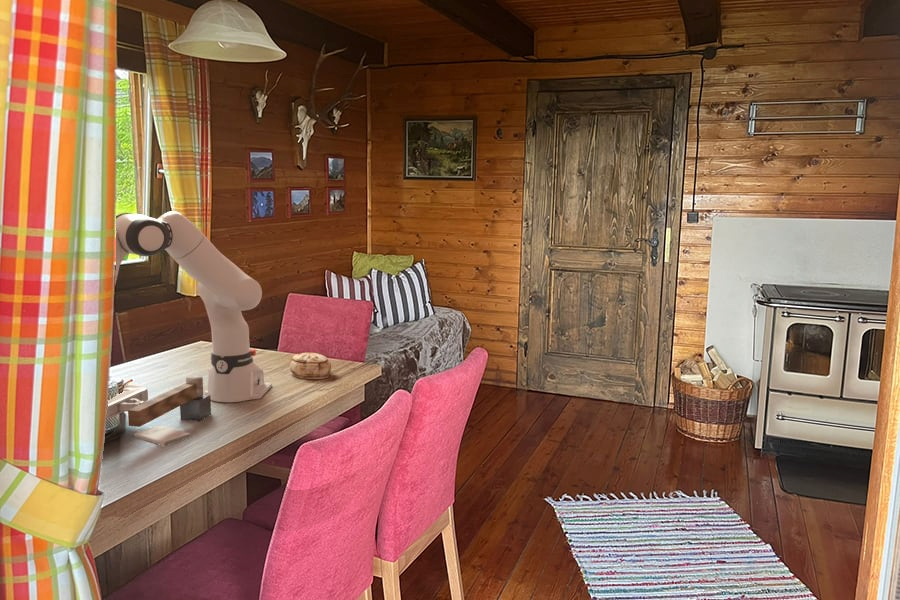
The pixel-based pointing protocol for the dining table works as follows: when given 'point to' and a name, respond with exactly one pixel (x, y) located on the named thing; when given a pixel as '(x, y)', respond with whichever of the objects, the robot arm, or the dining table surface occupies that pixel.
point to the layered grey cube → (196, 408)
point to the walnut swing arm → (166, 402)
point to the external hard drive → (162, 435)
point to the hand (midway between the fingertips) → (142, 406)
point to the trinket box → (310, 366)
